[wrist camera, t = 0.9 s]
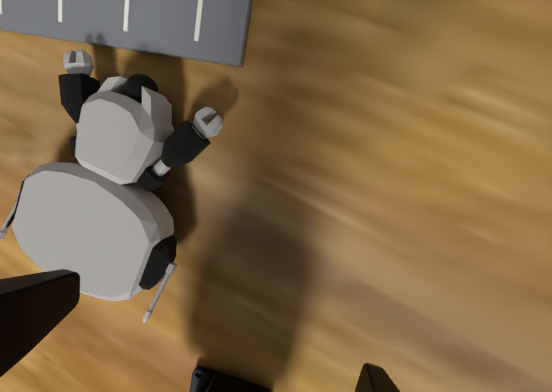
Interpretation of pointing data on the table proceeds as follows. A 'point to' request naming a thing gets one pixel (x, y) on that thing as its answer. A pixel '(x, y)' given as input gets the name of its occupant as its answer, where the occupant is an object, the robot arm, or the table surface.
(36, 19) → the scale strip
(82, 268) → the robot toy
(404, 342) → the table surface
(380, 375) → the robot arm
